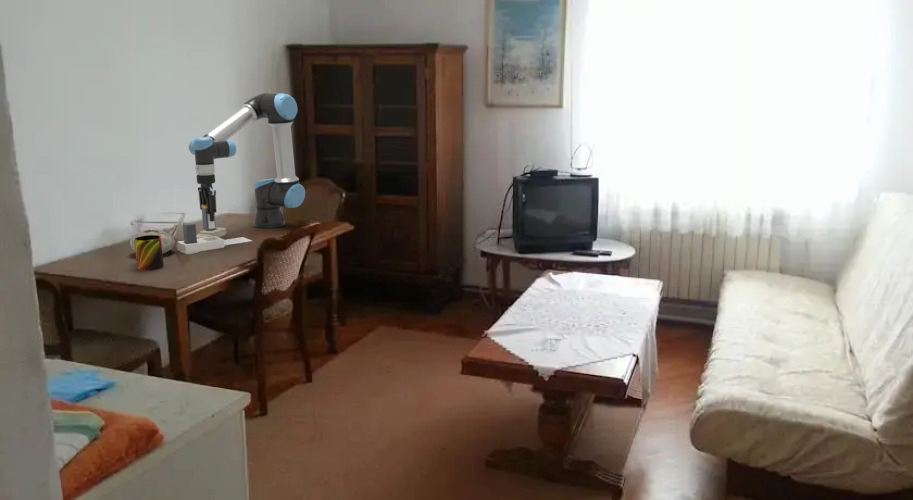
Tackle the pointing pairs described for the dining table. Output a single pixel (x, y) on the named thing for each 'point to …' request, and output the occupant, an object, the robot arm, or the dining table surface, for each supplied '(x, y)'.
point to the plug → (206, 218)
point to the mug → (148, 252)
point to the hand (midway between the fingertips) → (209, 227)
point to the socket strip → (197, 240)
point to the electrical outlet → (212, 233)
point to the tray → (236, 240)
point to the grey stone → (166, 238)
